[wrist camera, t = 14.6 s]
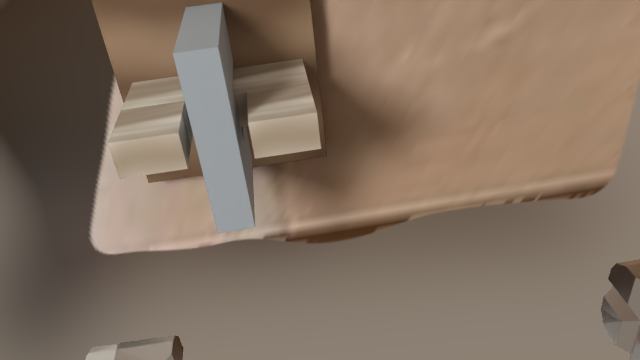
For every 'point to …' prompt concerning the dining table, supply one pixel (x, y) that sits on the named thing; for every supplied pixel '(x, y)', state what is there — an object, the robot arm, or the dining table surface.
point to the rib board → (247, 40)
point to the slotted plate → (215, 115)
